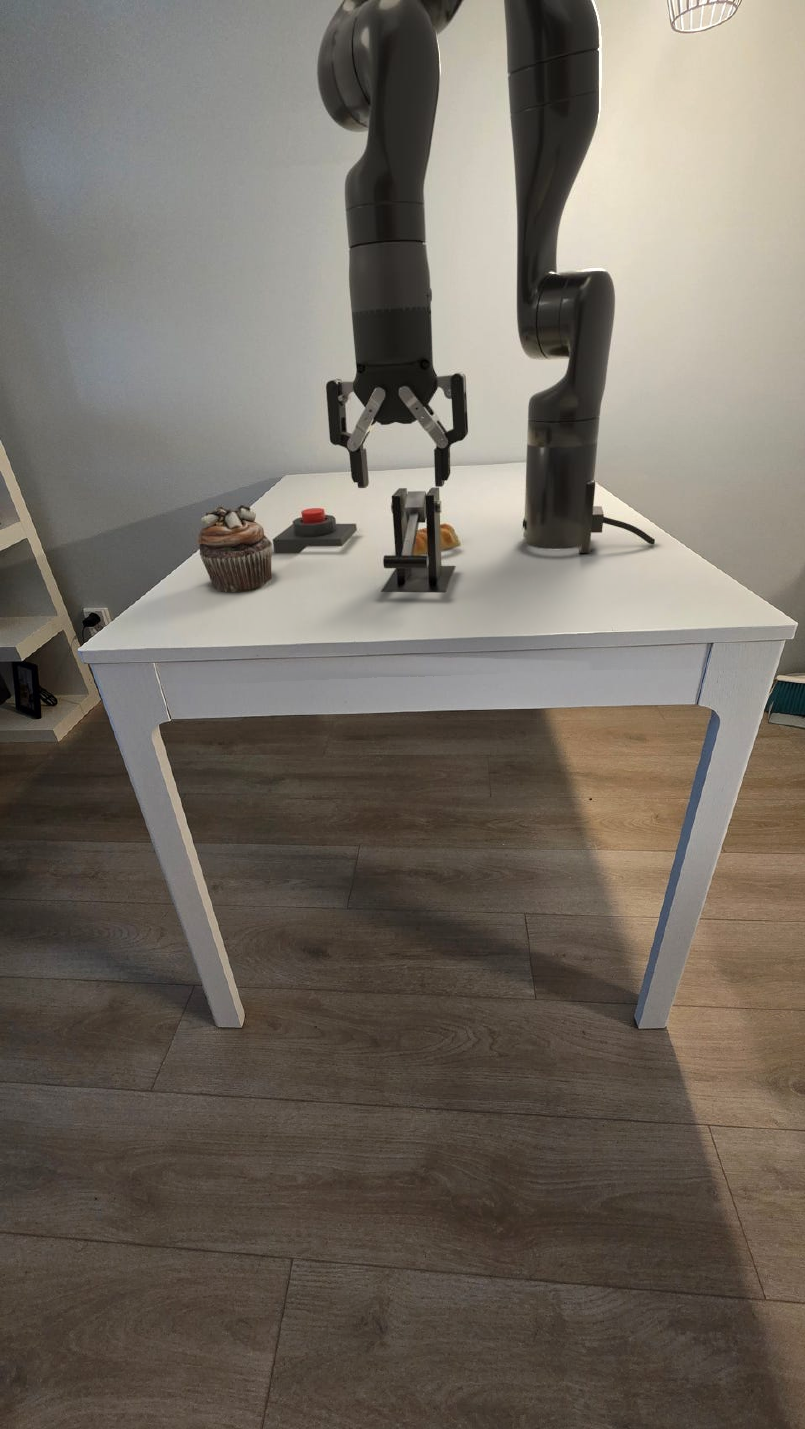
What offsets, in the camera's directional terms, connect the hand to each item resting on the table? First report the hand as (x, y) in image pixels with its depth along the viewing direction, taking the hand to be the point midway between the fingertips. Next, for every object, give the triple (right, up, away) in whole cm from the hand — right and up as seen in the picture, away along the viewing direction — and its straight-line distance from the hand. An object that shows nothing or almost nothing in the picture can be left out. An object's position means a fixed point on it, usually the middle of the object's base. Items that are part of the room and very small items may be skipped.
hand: (401, 486), depth 68 cm
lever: (+1, -4, +8) cm, 9 cm away
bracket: (+2, -8, +14) cm, 16 cm away
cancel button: (-14, +6, +32) cm, 35 cm away
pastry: (+4, -1, +26) cm, 26 cm away
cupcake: (-22, -6, +20) cm, 30 cm away
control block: (-14, +3, +34) cm, 36 cm away
